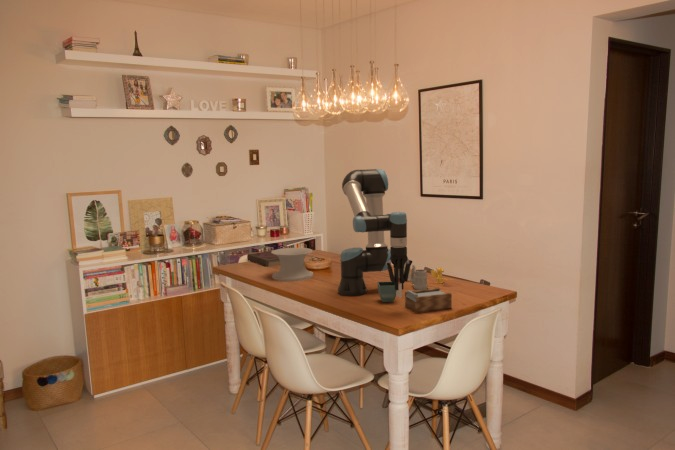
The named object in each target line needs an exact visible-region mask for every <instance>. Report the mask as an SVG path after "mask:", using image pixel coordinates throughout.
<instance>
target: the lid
mask: <svg viewBox="0 0 675 450" xmlns="http://www.w3.org/2000/svg"><path fill="white" fill-rule="evenodd" d="M412 291H413V290H407V291H406V292H407V294H406V297H407V298H409V299H411V300H413V301H415V302H416V299H415V297H421V296H429V295H438V294H446V292H444V291H441V289H440V290H438V291H430V292H421V293H414V292H412Z"/></svg>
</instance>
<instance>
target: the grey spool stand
mask: <svg viewBox="0 0 675 450" xmlns="http://www.w3.org/2000/svg"><path fill="white" fill-rule="evenodd" d="M271 251H272V252H271V253H273V254H275V255H277V256H278V257H279V259H280V262H281V265H279V268H278V269H279V270H278V271H276V272H273V273H272V275H271V278H272V280H275V281H279V282H299V281H305V280H309V279H311V278H314V272H313V271H311V270H308V269H307V268H306V265H305V259H306V257H307V256H308V254H311V253H312V252H313V251H314V250H313V249H311V248H307V247H285V248H277V249H274V250H271Z"/></svg>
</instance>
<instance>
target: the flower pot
mask: <svg viewBox="0 0 675 450" xmlns="http://www.w3.org/2000/svg"><path fill="white" fill-rule="evenodd" d="M376 284H377V290H378V291H377V293H378V296H379V298H380V300H381V302H382V303H393V302H394V300H395V299H396V297H397V296H396V290H395V283H393V282H391V281H377V283H376Z"/></svg>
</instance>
